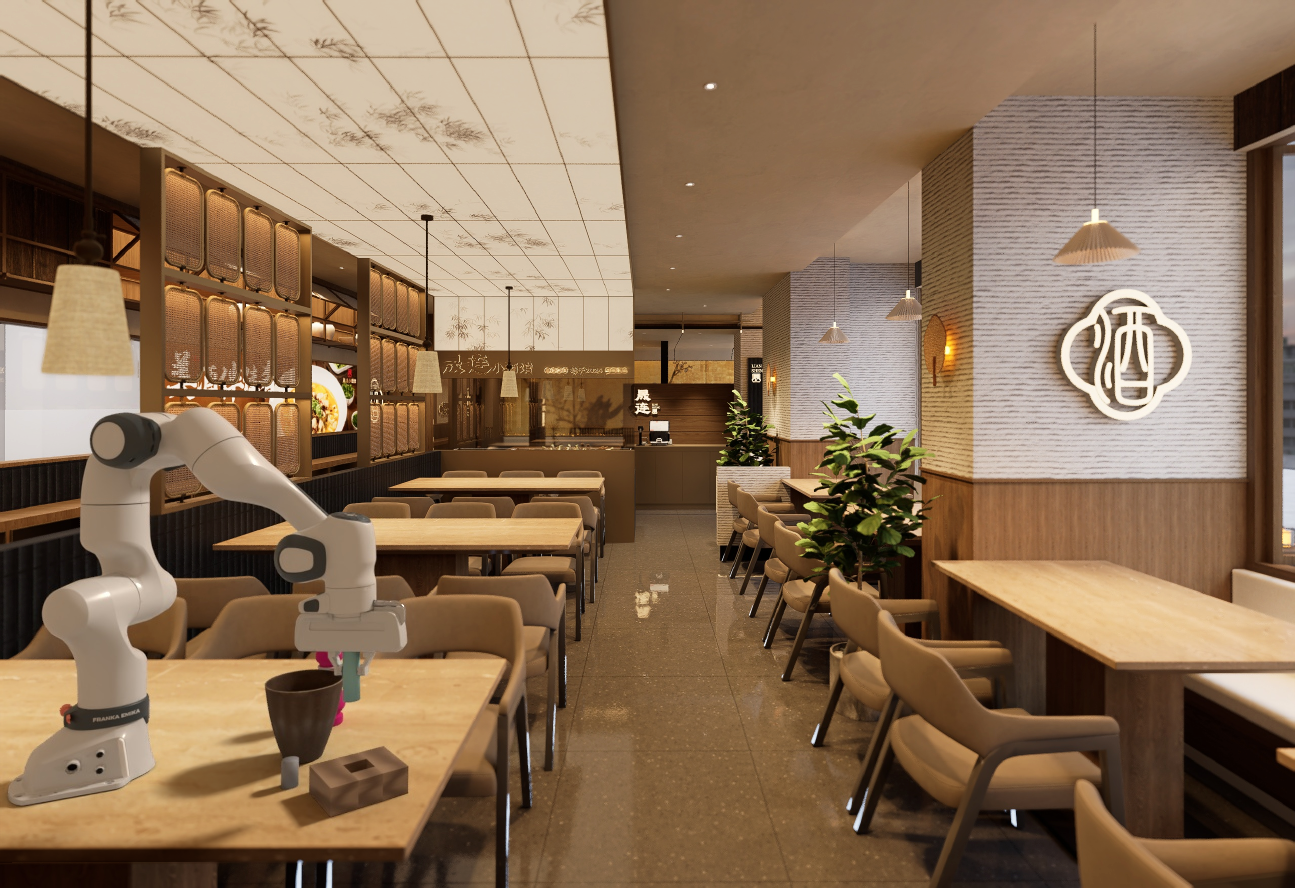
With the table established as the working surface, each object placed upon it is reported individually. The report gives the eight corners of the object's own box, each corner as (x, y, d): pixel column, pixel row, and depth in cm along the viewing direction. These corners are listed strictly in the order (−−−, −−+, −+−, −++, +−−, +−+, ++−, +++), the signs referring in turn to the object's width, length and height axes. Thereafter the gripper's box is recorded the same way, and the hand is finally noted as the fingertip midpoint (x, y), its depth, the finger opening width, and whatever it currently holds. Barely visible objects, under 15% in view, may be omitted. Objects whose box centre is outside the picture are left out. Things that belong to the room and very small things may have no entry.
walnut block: (330, 817, 128) (330, 788, 128) (309, 792, 137) (309, 765, 137) (408, 793, 137) (408, 766, 137) (383, 771, 146) (383, 745, 146)
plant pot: (354, 742, 160) (355, 669, 160) (324, 773, 145) (325, 692, 145) (285, 741, 160) (286, 668, 160) (248, 772, 145) (249, 691, 145)
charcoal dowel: (283, 791, 137) (283, 764, 137) (278, 785, 140) (279, 759, 140) (300, 786, 139) (300, 760, 139) (295, 780, 142) (296, 754, 142)
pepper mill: (332, 730, 167) (334, 641, 167) (304, 727, 168) (305, 639, 168) (351, 718, 174) (352, 634, 174) (324, 715, 175) (325, 632, 175)
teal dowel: (346, 703, 134) (345, 648, 134) (340, 699, 136) (340, 645, 136) (362, 699, 136) (362, 645, 136) (356, 695, 138) (356, 642, 138)
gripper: (412, 597, 139) (412, 670, 138) (308, 596, 140) (308, 669, 140) (398, 604, 132) (399, 680, 132) (289, 603, 134) (290, 679, 134)
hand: (351, 674), depth 136 cm, fingers closed on teal dowel, 3 cm apart
